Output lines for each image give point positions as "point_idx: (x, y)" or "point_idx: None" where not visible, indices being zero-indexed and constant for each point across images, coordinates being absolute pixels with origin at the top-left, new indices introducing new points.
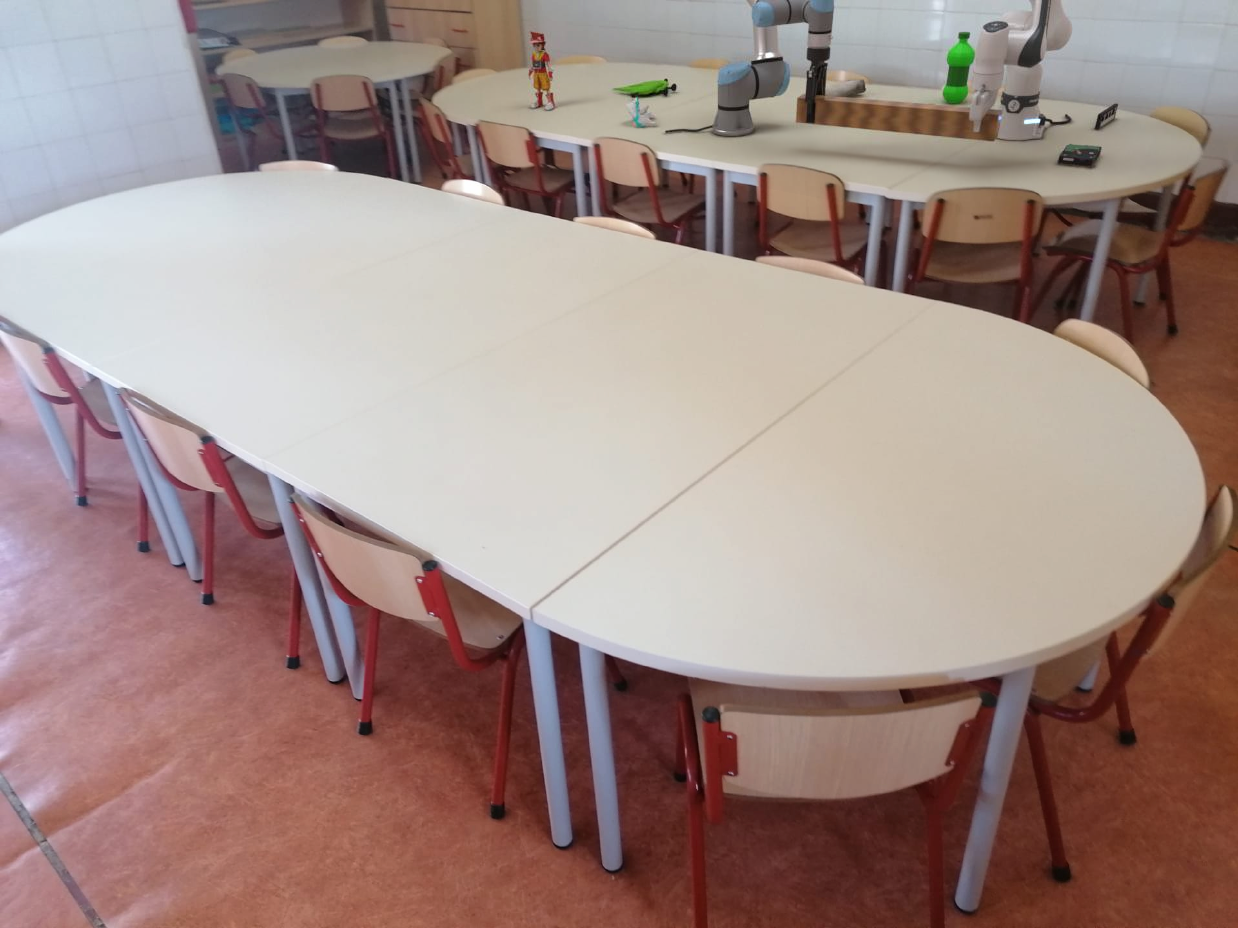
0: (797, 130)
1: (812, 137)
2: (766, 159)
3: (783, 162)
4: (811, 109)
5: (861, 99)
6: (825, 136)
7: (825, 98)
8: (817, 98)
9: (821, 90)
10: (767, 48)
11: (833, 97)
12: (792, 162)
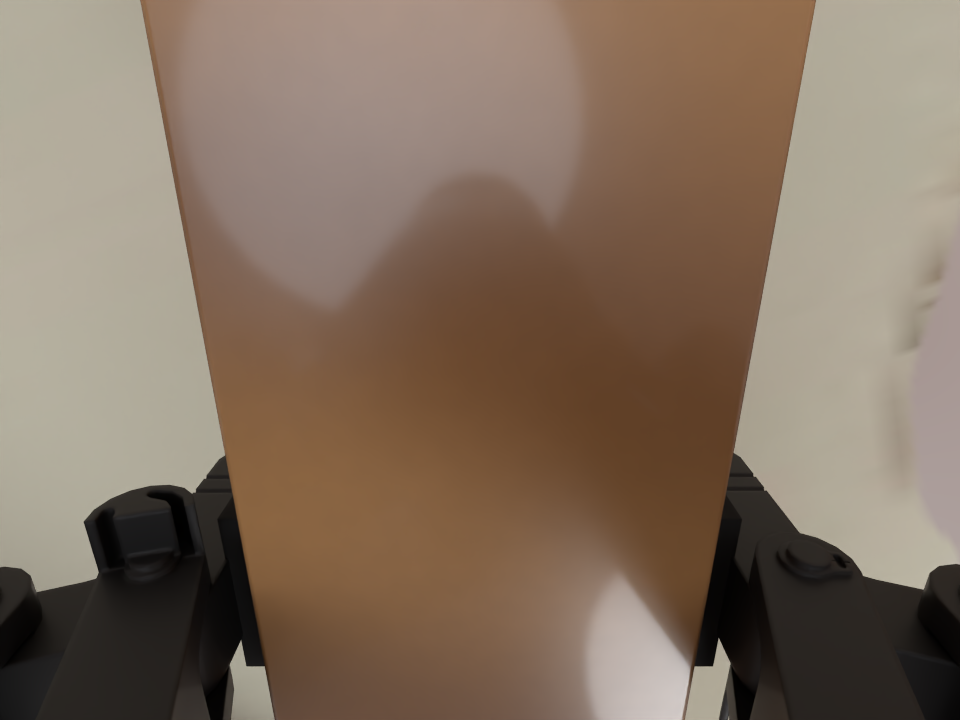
0: (22, 559)
1: (123, 408)
2: (793, 507)
3: (853, 379)
4: (762, 488)
5: None
6: (36, 325)
7: (549, 383)
8: (602, 577)
9: (172, 717)
10: None
11: (330, 173)
12: (844, 316)
